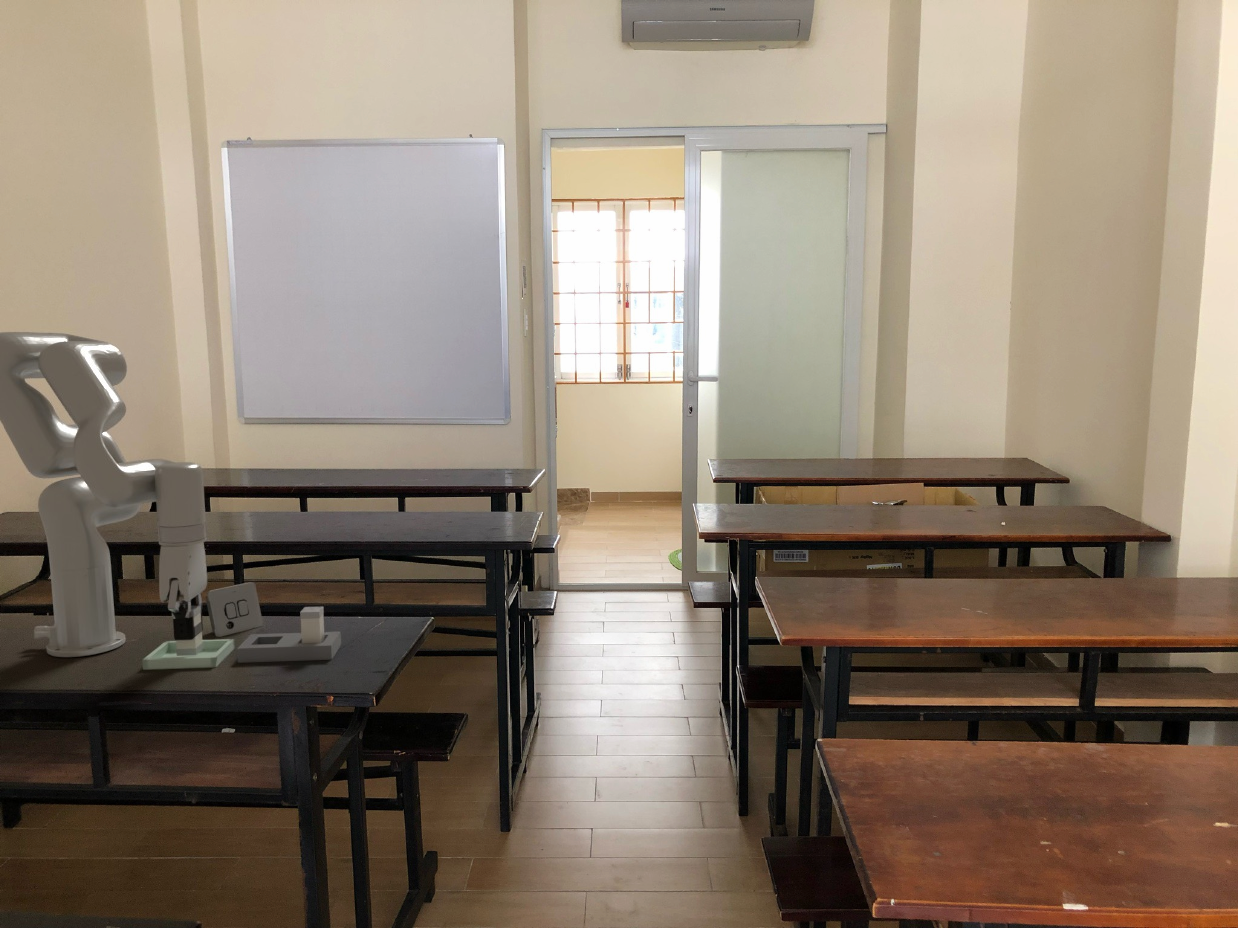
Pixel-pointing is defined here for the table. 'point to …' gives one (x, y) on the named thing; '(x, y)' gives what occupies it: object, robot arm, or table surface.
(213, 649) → the parts tray
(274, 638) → the block
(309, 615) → the block
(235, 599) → the electrical switch
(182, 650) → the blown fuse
